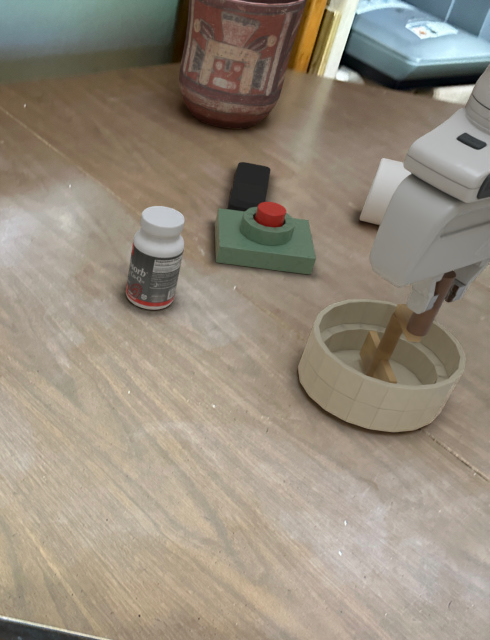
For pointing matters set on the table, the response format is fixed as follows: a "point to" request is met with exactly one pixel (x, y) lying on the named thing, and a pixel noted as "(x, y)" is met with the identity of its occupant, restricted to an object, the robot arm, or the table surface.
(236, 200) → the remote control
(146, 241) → the pill bottle
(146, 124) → the table surface
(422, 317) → the stirring paddle
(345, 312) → the bowl
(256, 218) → the timer button
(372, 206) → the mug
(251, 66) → the pottery
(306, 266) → the green button base
